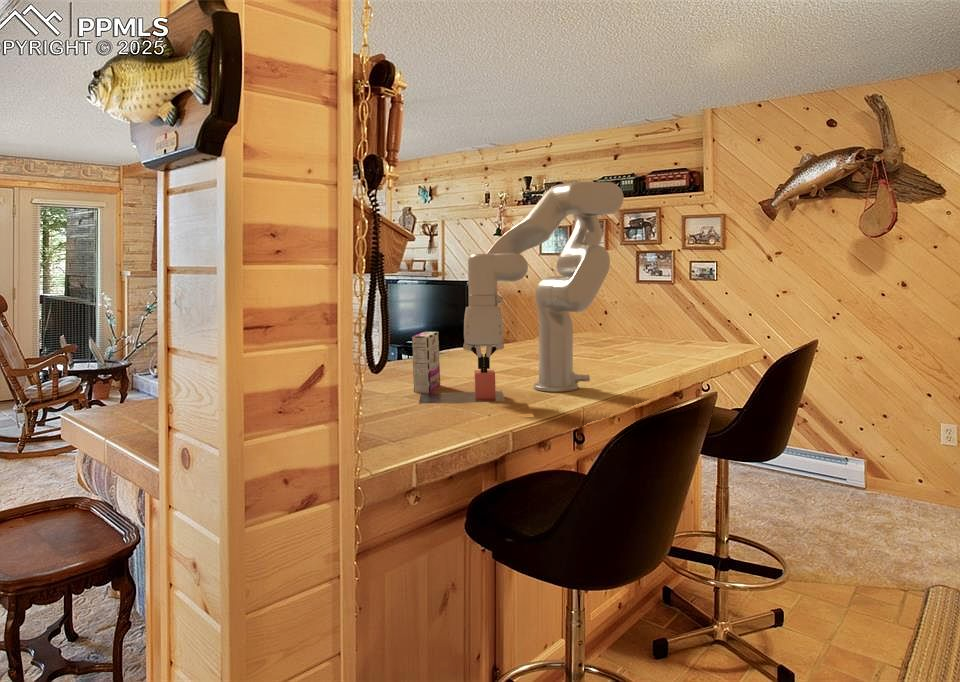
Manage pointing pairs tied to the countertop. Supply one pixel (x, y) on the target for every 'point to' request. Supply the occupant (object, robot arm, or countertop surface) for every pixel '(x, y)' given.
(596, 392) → the countertop surface
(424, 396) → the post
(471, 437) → the countertop surface
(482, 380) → the red block
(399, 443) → the countertop surface
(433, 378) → the candy bar box
